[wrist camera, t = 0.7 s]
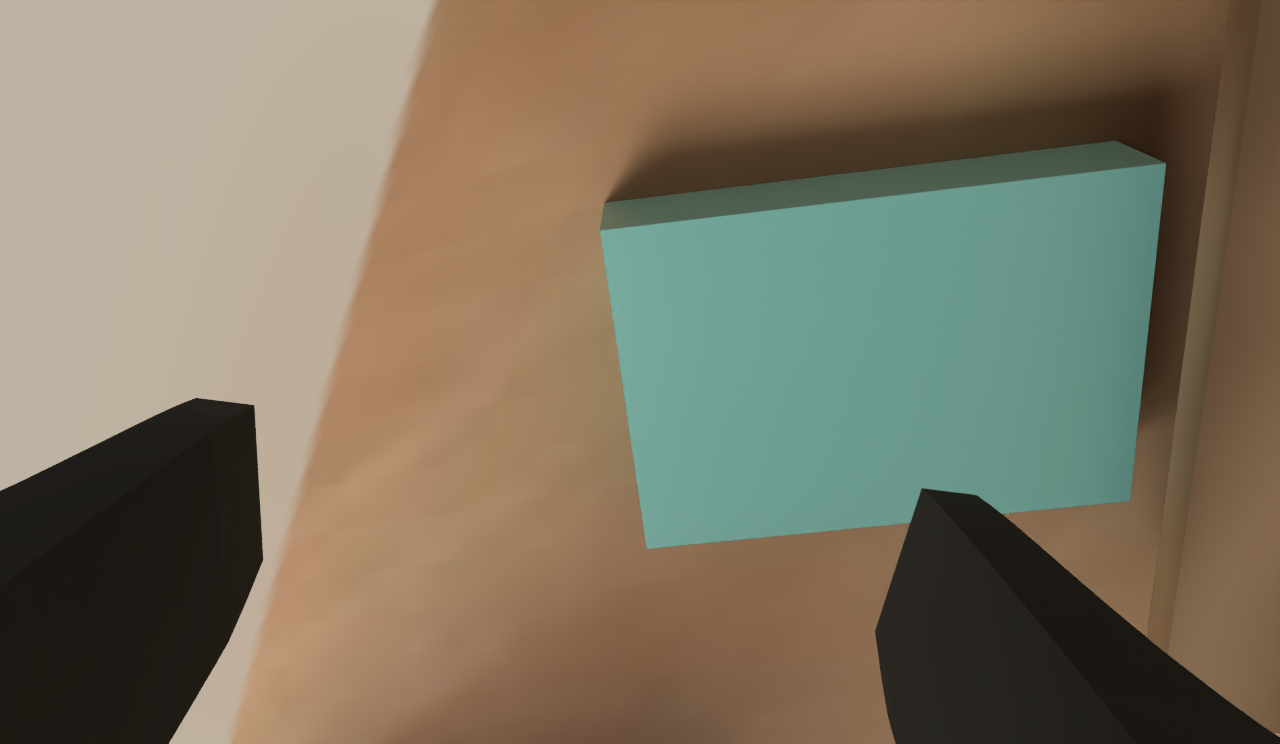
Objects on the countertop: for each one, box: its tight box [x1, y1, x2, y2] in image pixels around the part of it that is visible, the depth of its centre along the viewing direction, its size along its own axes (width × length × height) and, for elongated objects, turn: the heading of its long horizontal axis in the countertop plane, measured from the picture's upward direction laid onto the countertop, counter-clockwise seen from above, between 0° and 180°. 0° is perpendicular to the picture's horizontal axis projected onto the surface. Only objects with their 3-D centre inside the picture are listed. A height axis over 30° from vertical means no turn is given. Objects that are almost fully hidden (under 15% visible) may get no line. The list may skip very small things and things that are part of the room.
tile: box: [600, 141, 1166, 549], centre depth 19 cm, size 10×7×2 cm
